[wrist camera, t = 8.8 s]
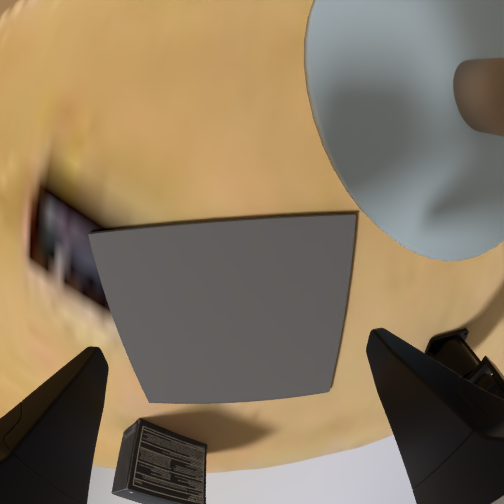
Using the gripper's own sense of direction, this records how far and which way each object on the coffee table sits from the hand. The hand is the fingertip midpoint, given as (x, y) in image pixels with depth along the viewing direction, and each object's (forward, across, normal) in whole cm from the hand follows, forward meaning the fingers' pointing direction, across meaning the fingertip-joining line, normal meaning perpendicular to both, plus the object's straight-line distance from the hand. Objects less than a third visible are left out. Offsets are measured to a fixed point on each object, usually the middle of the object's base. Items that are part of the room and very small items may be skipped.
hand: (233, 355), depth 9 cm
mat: (+13, +1, +10) cm, 16 cm away
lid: (+6, -13, -9) cm, 17 cm away
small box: (+13, +12, +30) cm, 35 cm away
